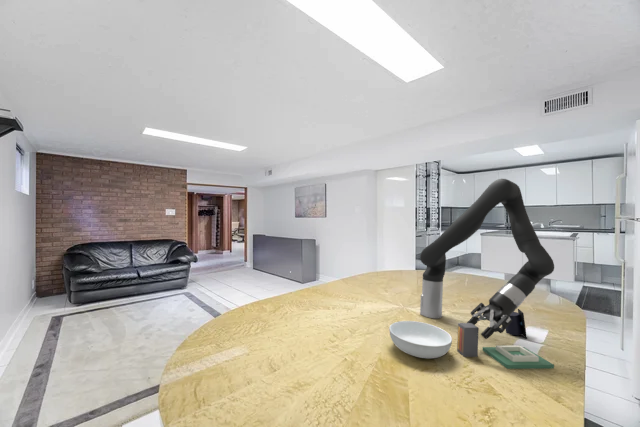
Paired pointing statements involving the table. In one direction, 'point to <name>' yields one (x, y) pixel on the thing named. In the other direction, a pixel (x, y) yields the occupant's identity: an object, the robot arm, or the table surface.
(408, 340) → the serving bowl
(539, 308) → the table surface
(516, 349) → the board
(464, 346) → the gray rectangular block
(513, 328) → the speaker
